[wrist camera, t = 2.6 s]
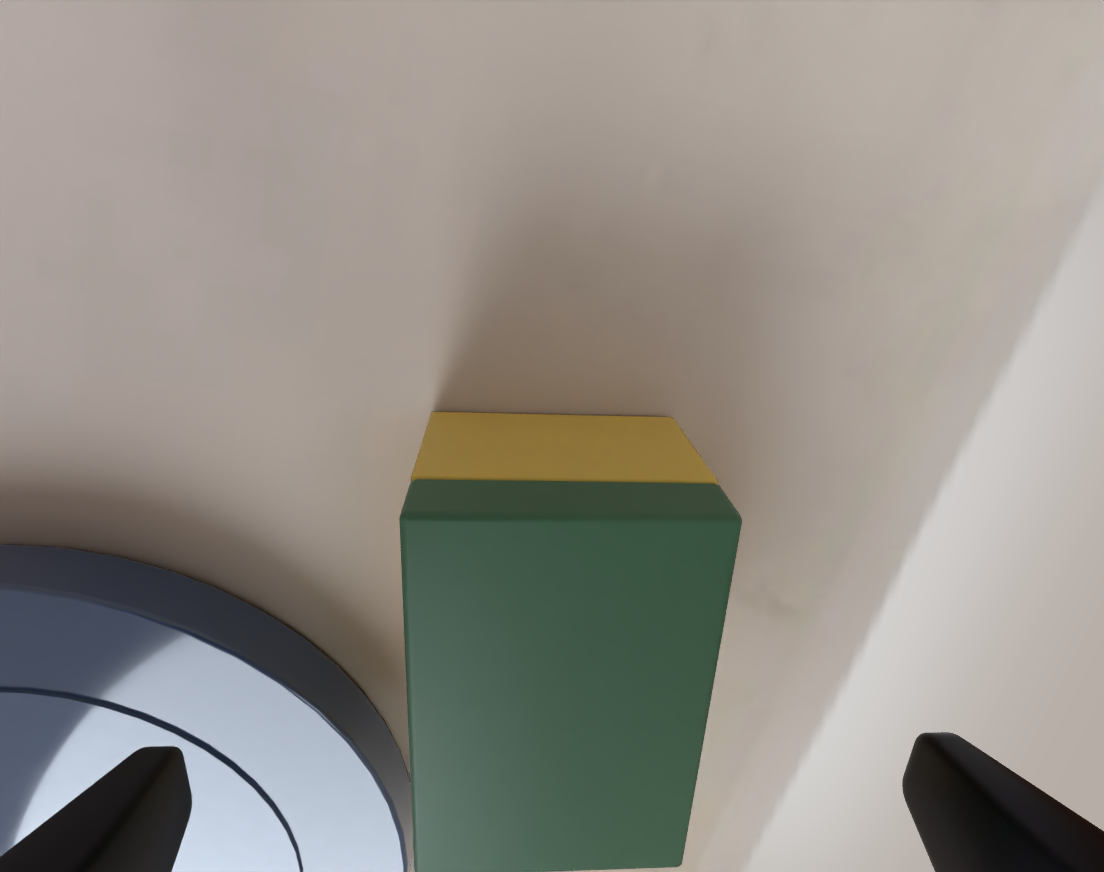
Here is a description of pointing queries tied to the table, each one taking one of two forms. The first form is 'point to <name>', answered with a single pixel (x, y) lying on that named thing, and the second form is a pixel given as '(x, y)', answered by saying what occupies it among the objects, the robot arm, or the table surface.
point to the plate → (191, 716)
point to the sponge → (559, 639)
